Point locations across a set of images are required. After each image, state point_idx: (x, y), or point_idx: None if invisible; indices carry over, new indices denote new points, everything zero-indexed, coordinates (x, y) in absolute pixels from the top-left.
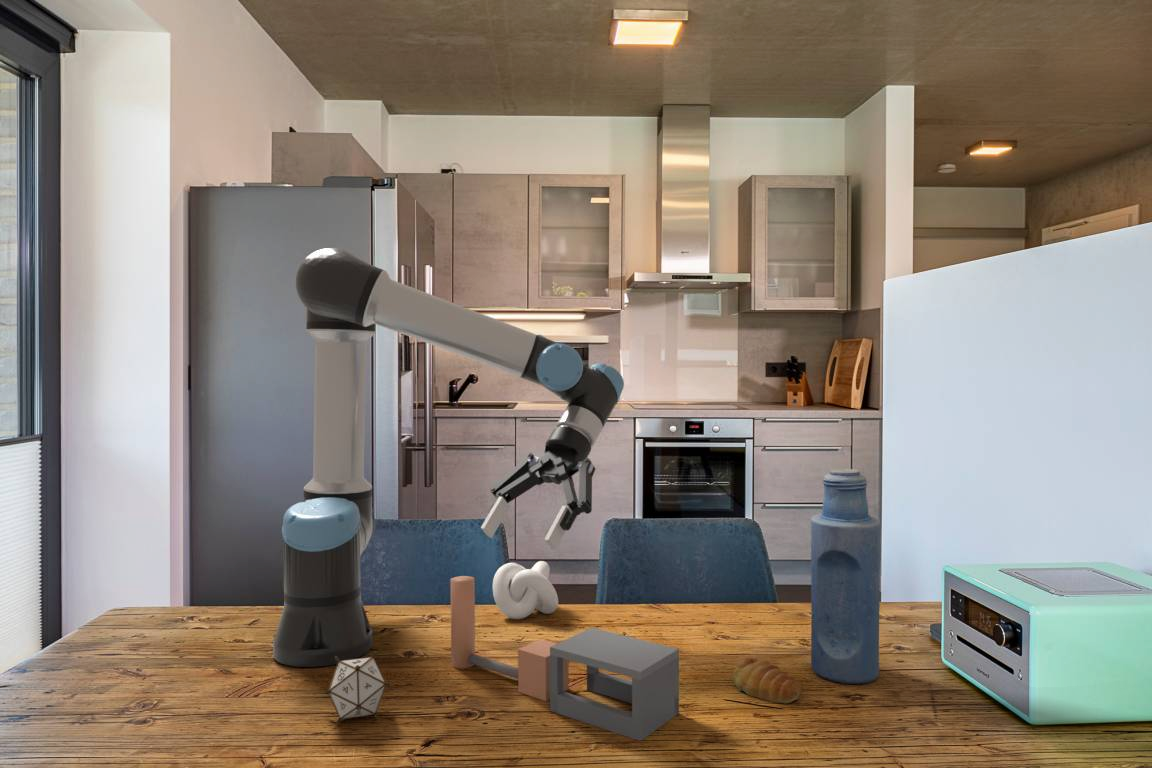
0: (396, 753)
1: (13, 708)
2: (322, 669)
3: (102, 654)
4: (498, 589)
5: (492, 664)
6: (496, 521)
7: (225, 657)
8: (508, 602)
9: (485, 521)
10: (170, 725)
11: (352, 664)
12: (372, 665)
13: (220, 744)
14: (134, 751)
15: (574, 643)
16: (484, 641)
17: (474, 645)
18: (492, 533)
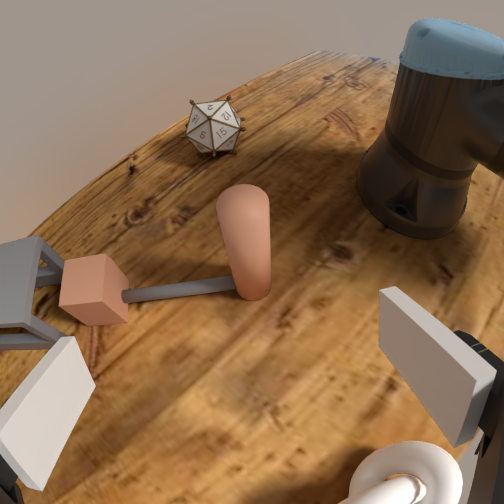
0: (141, 150)
1: (389, 60)
2: (353, 168)
3: None
4: (412, 447)
5: (185, 282)
6: (405, 358)
7: None
8: (381, 458)
9: (404, 299)
10: (308, 83)
11: (208, 104)
12: (200, 118)
13: (255, 91)
14: (283, 70)
15: (20, 262)
16: (311, 363)
17: (235, 281)
18: (384, 346)
